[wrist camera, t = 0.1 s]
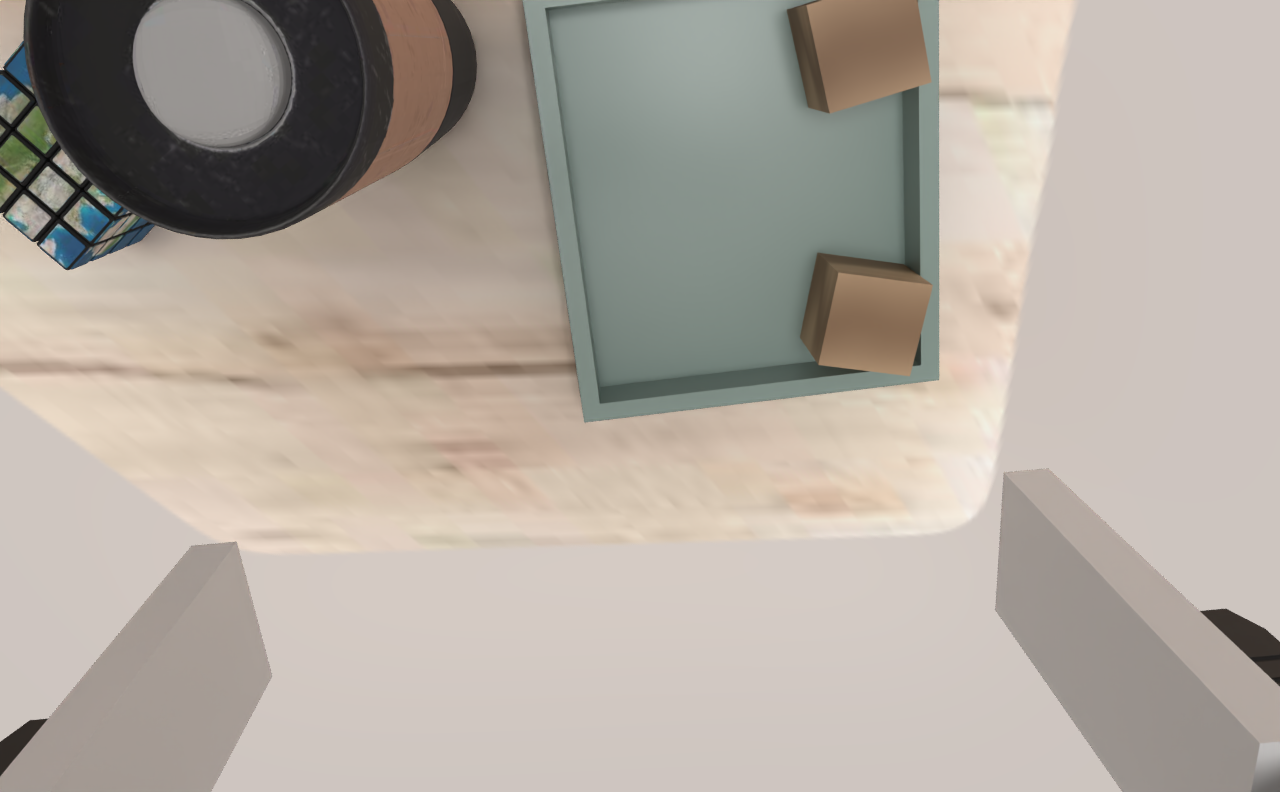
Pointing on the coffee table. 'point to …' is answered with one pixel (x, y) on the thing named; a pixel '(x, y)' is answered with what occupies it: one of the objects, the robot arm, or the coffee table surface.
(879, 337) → the walnut block
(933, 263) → the tray
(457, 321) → the coffee table surface
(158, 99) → the travel mug
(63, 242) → the puzzle
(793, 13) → the walnut block
